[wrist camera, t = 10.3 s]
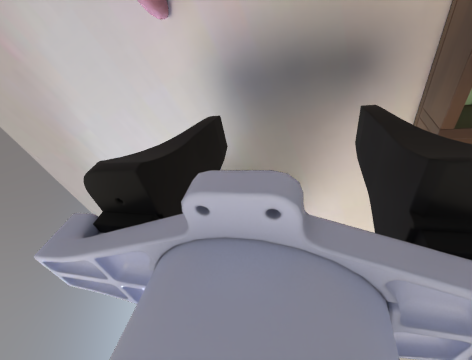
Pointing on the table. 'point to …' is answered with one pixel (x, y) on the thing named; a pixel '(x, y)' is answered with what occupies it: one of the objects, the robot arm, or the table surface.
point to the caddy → (450, 80)
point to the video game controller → (156, 7)
